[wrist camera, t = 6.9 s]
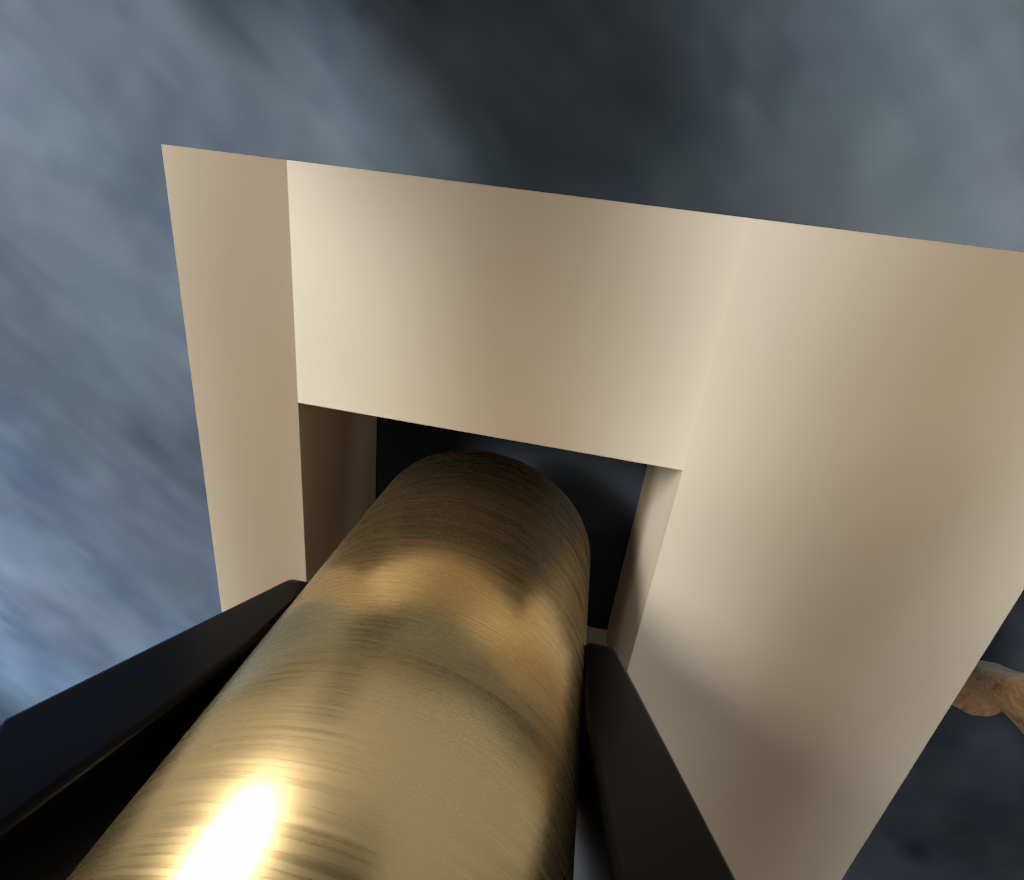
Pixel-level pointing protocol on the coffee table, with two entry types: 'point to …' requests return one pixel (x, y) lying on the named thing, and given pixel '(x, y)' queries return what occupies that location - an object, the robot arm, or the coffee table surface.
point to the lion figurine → (993, 692)
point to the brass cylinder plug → (394, 704)
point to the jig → (645, 445)
